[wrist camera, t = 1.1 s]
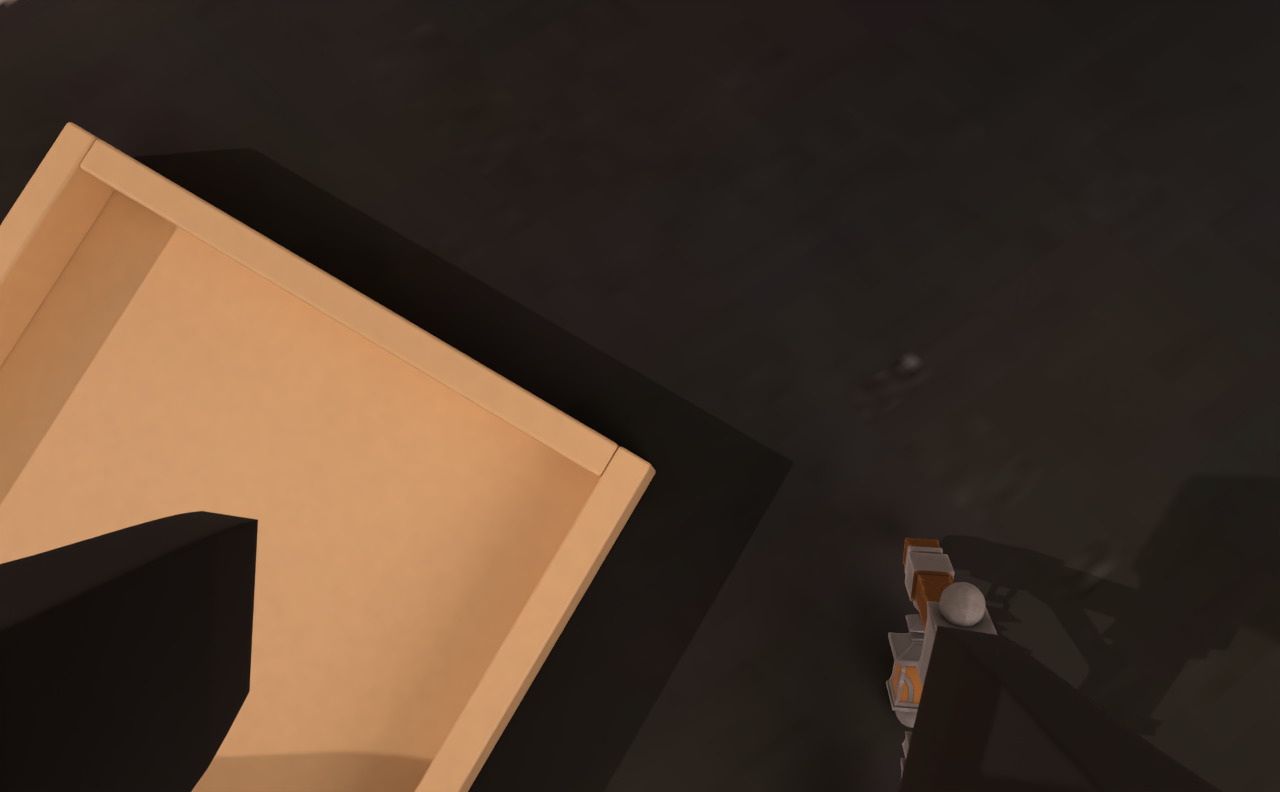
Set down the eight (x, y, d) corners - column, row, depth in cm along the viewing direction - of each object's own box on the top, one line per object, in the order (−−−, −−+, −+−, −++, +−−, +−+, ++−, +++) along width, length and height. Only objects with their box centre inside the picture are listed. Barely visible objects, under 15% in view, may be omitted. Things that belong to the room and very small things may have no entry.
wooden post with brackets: (974, 498, 21) (1037, 613, 17) (925, 849, 23) (970, 1030, 19) (877, 492, 21) (916, 605, 17) (839, 842, 23) (864, 1020, 19)
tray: (657, 470, 22) (652, 464, 20) (332, 1021, 21) (292, 1074, 19) (123, 155, 24) (67, 119, 22) (-201, 657, 23) (-293, 670, 21)
